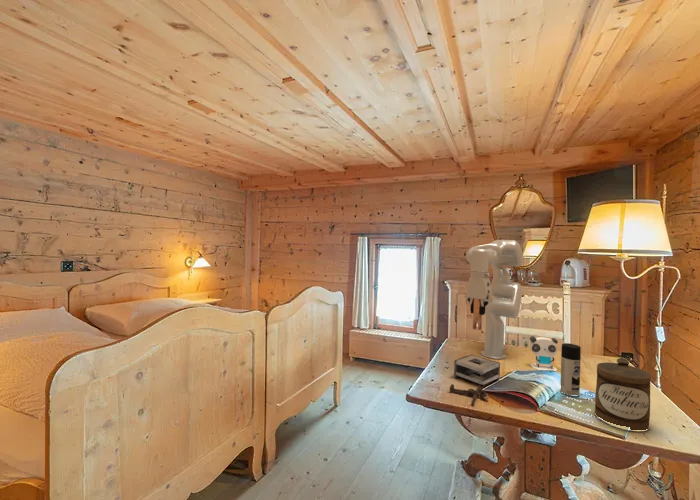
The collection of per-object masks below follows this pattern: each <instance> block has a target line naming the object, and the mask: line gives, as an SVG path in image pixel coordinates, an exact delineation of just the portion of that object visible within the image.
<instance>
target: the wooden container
mask: <svg viewBox="0 0 700 500" xmlns="http://www.w3.org/2000/svg"><path fill="white" fill-rule="evenodd" d="M651 380H652V379H651V374H650V373H649V372H648V371H646V370H643V369H642V368H639V367H635V366H633V365H630V361H629V360H628V359H627V358H624V357H619V358H617V359H616V362H605V361H604V362H600V363H598V364H596V385H595V397H594V398H595V399H594V400H595V401H594V403H595V405H594V414H595V413H596V415H597V416H598V417H600V418H602V419H603V420H605V421H607V422H610V423H613V424H616V425H620V426H626V427H630V429H631V430H646V429H648V428H649V429H650V417H651ZM596 415H595V416H596Z"/></svg>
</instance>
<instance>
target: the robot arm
mask: <svg viewBox="0 0 700 500" xmlns="http://www.w3.org/2000/svg"><path fill="white" fill-rule="evenodd" d="M465 255H466V256H465V257H466V258H465V259H466V261H467V262H468V263H469V264H471V265H470V277H469V279H468V283H467V287H466V289H467V290H466V293H465V295H464V298H465V299H466V301H468V303H469V306H470V310H469V311H470V314H473V302H474V298H476V299H479V300H481V306H480V315H482V316H485V317H484V318H485V319H484V346H483V347H484V348H483V350H481V352H480V354H481V355H482V356H483V357H484V358H487V359H488V358H489V359H495V360H504V359H506V358H507V354H506V353H505V352H504V351H505V350H506V346H505V345H504V344H505V343H504V340H505V339H504V338H505V323H504V321H503V319H502V317H504V318H510V319H511V318H512V319H515V318H517V317H518V316H519V314H520V309H521V304H522V303H521V302H522V297H523V288H522V285H521V283H518V282H515V281H510V276H511V275H510V273H509V271H508V270H507V269H506V268H505V267H520V266H522V265H523V263H524V254H523V252H522V247H521V245H520V244H519V242H518V241H517V240H514V239H495V240H493V241H492V242H490V243H486V244H482V245H475V246H472V247H470V248H469V249H468V250H467V252H466V254H465ZM489 265H490V266H491V268H492V273H493V277H492V281H491V280H490V278H489V277H491V274H490V273H489Z"/></svg>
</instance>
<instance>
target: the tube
mask: <svg viewBox="0 0 700 500" xmlns="http://www.w3.org/2000/svg"><path fill="white" fill-rule="evenodd" d="M480 306H481V300H479V299H476V298H474V302H473V313H472V327H471V328H472V330H475V331H481V330H482V328H483V327H482V326H483V325H482V323H483V322H482V321H483V315H480Z"/></svg>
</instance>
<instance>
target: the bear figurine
mask: <svg viewBox="0 0 700 500" xmlns="http://www.w3.org/2000/svg"><path fill="white" fill-rule="evenodd" d="M449 393H450V394H457V395H465V396H468V397H472V400H471V401H470V402H471V404H472V405H474V404H475V402H476V400H477V398H480V399H481V400H484V401H485V400H489V398H488V397H489V396H490V395H489V394H488V393H487V392H486V391H485V389H483V388H481V384H479V385H477V388H476V390H475V389H473V388H469V389H468V390H467V389H459V388H455V385H454V384H453V383H451V385H450V386H449Z"/></svg>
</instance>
